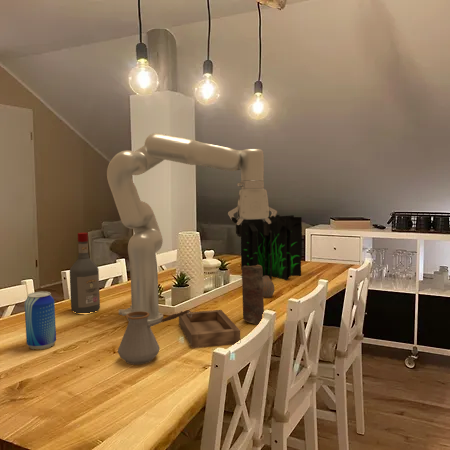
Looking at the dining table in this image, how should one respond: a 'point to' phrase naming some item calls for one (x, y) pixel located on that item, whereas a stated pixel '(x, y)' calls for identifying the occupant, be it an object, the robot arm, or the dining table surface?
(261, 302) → the dark brown block
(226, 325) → the wooden tray
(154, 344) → the coffee pot
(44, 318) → the beer can
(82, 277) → the liquor
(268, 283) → the brown egg
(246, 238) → the black pleated panel block
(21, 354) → the dining table surface
